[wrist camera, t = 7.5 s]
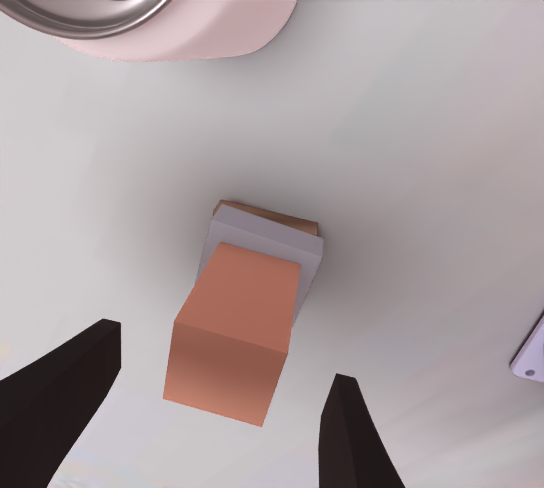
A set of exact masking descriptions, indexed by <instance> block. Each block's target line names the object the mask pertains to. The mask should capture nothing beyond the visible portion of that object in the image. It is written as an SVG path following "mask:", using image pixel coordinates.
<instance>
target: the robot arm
mask: <svg viewBox="0 0 544 488" xmlns="http://www.w3.org/2000/svg"><path fill="white" fill-rule="evenodd" d="M120 369H121V323H120V322H116V321H112V320H107V319H101V320H100V321H98V322H96V323H95V324H93V325H92V326H90V327H89V328H87V329H86V330H84V331H82V332H81V333H79V334H78V335H76V336H75V337H73V338H72V339H70V340H68V341H67V342H65V343H64V344H62V345H61V346H59V347H57V348H56V349H54V350H53V351H51V352H49V353H48V354H46V355H44V356H43V357H41V358H40V359H38V360H36V361H35V362H33V363H31V364H29V365H27V366H26V367H24V368H22V369H20V370H19V371H17V372H15V373H13V374H12V375H10V376H8V377H6V378H4V379H2V380H1V381H0V488H47V486H48V484H49V482H50V481H51V479H52V477H53V475H54V474H55V472H56V470H57V469H58V467H59V466H60V464H61V463H62V461H63V459H64V458H65V457H66V455H67V454H68V452H69V451H70V449H71V448H72V446H73V445H74V443H75V442H76V440H77V439H78V437H79V436H80V435H81V433H82V432H83V430H84V429H85V427H86V426H87V424H88V423H89V421H90V420H91V418H92V417H93V415H94V414H95V413H96V411H97V410H98V408H99V407H100V405H101V404H102V402H103V401H104V399H105V398H106V396H107V394H108V392H109V390H110V388H111V387H112V385H113V383H114V381H115V379H116V377H117V375H118V373H119V371H120ZM510 369H511V371H512V373H513V374H514V375H516V376H519V377H523V378H527V379H531V380H535V381H539V382H544V316H543V317H542V319H541V320H540V322H539V323H538V325H537V326H536V328H535V329H534V331H533V332H532V334H531V335H530V337H529V338H528V340H527V341H526V343H525V344H524V346H523V347H522V349H521V350H520V352H519V353H518V355H517V356H516V358H515V359H514V361H513V362H512V364H511V366H510ZM527 370H530V371H527ZM318 454H319V488H405V486H404V484H403V482H402V481H401V479H400V477H399V475H398V473H397V471H396V469H395V467H394V466H393V464H392V462H391V460H390V458H389V456H388V454H387V452H386V450H385V448H384V445H383V443H382V441H381V439H380V437H379V434H378V432H377V430H376V428H375V426H374V423H373V421H372V419H371V416H370V414H369V411H368V409H367V406H366V404H365V401H364V399H363V396H362V393H361V391H360V388H359V385H358V382H357V380H356V379H355V378H354V377H349V376H345V375H341V374H337V373H336V375H335V378H334V381H333V384H332V387H331V389H330V392H329V395H328V398H327V401H326V403H325V406H324V409H323V412H322V415H321V422H320V433H319V447H318Z"/></svg>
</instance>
